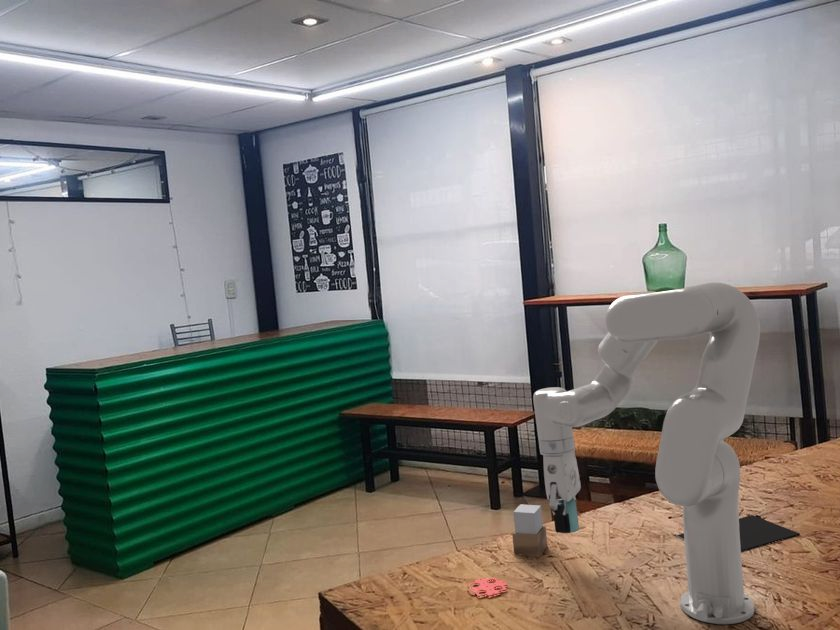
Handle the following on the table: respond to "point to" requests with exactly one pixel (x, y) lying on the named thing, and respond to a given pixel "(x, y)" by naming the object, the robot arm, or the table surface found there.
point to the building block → (488, 586)
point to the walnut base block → (530, 543)
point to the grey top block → (528, 519)
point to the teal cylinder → (572, 515)
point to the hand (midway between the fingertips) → (567, 526)
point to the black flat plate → (758, 532)
